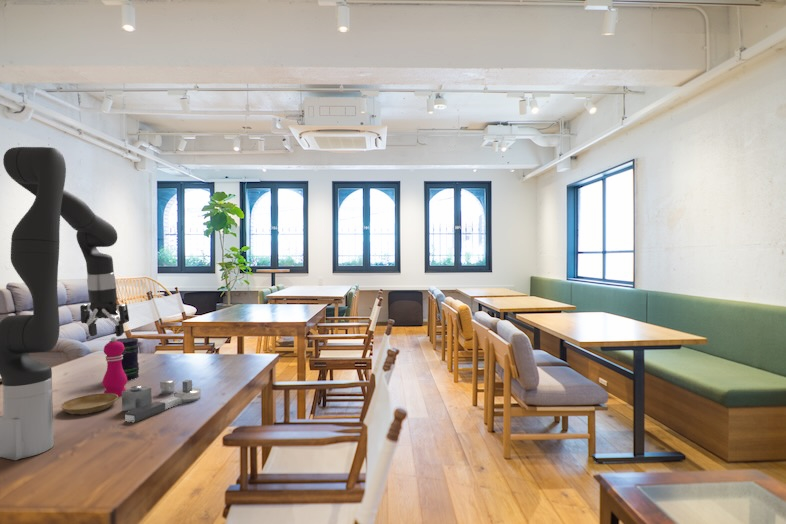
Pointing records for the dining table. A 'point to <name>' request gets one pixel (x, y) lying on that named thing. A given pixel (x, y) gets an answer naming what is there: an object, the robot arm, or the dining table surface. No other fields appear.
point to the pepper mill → (114, 368)
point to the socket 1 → (136, 397)
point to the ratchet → (165, 403)
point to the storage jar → (130, 357)
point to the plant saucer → (89, 403)
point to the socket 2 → (167, 387)
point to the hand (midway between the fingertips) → (106, 335)
